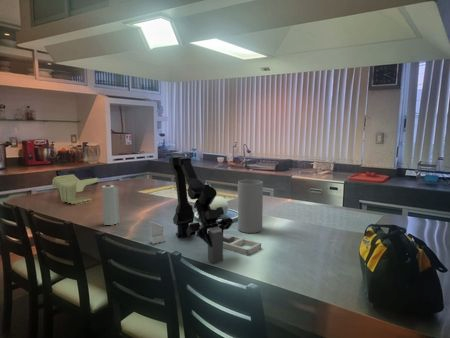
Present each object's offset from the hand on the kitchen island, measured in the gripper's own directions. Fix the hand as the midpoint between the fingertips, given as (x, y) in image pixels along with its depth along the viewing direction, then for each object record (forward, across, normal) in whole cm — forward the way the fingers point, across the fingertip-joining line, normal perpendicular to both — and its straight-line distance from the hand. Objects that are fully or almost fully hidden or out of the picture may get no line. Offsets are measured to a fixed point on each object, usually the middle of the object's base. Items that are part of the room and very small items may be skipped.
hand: (217, 245), depth 121 cm
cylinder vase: (-14, +33, +24) cm, 43 cm away
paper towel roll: (-45, -28, +55) cm, 76 cm away
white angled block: (-18, -14, +28) cm, 36 cm away
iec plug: (+4, 0, +6) cm, 7 cm away
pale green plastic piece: (-92, -40, +102) cm, 143 cm away
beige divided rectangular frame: (-3, +15, +12) cm, 20 cm away
